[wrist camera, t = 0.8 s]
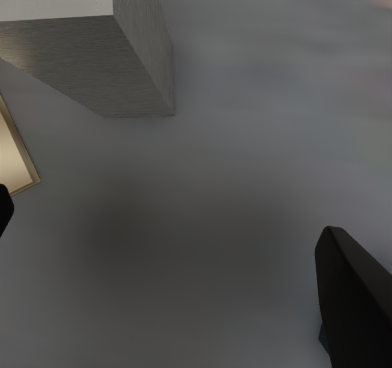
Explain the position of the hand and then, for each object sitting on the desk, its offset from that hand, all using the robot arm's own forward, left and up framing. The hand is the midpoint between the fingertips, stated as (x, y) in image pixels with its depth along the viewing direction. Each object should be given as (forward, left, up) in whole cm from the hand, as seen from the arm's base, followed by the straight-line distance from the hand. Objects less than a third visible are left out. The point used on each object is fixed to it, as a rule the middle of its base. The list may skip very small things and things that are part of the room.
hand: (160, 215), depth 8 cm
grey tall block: (+3, +8, -13) cm, 16 cm away
